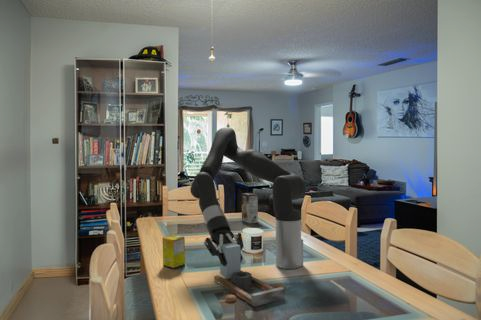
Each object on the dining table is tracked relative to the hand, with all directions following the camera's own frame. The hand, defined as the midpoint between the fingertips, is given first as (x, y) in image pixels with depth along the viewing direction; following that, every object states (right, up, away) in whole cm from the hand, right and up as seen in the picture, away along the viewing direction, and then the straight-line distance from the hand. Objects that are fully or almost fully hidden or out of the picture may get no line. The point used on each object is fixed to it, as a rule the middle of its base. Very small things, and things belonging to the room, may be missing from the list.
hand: (232, 263), depth 129 cm
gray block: (-1, -4, +2) cm, 5 cm away
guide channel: (+4, -6, -7) cm, 10 cm away
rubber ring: (+3, -6, -5) cm, 8 cm away
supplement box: (-22, -6, +16) cm, 28 cm away
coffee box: (+8, -2, +97) cm, 98 cm away
